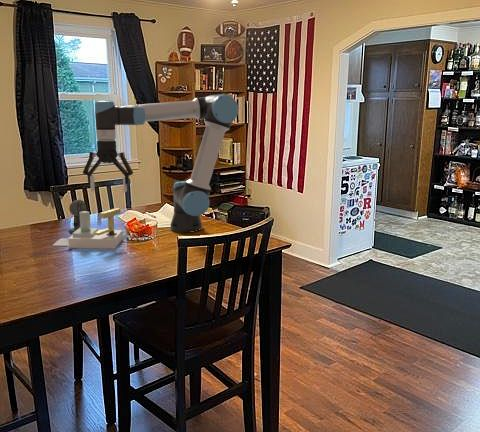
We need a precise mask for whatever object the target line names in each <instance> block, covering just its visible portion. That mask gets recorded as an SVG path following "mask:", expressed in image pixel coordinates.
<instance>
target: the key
mask: <svg viewBox="0 0 480 432" xmlns="http://www.w3.org/2000/svg"><path fill="white" fill-rule="evenodd" d="M121 211H122V210H121V208H118V207H116V208H112V209H108V210H105V211H102V212H99V218H100V219H103V220H105V219H107V226H108V227H107V228H105V229H100V230H101V231H98V232H95V235H101V234H104V233H107V232H109V234H110V235H112V234H114V230H115V219H114V217H115V216H118V215H120V214H122V213H121Z"/></svg>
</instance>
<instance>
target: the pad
mask: <svg viewBox="0 0 480 432" xmlns="http://www.w3.org/2000/svg"><path fill="white" fill-rule="evenodd" d="M68 238H69V237H68ZM68 238H64V237H63V238H61V237H60V239H58V240H56V241H55V242H54V243H53V244H52V245H51V246H52V247H69V242H68Z"/></svg>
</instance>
